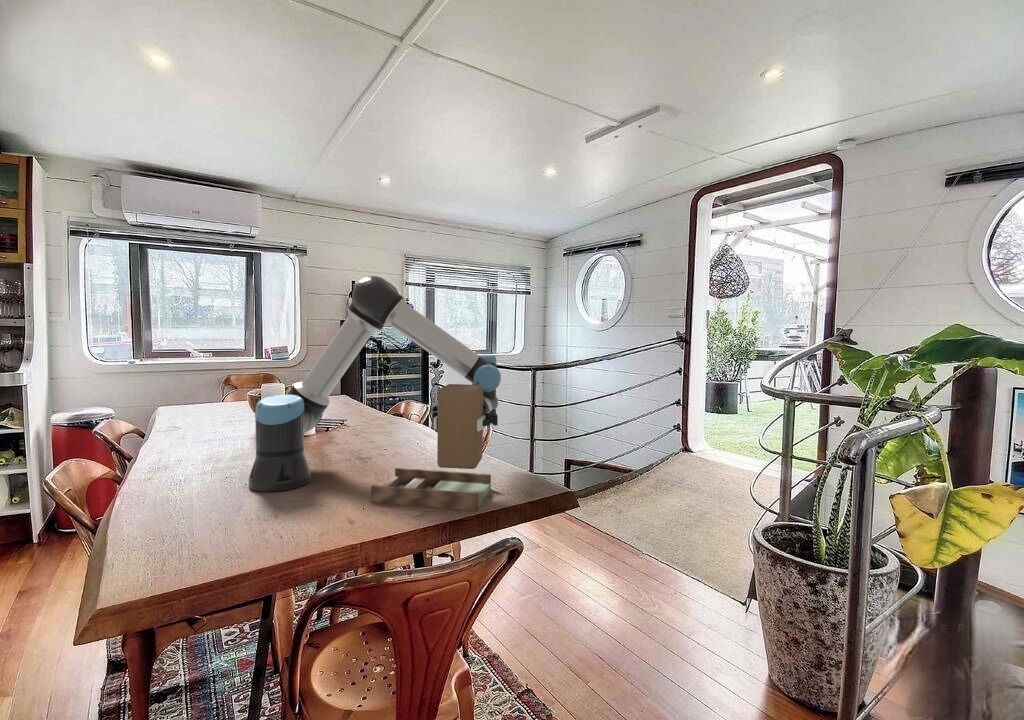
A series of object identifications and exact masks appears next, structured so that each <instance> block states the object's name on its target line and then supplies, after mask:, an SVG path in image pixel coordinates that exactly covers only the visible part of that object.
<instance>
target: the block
mask: <svg viewBox="0 0 1024 720" xmlns="http://www.w3.org/2000/svg"><path fill="white" fill-rule="evenodd" d="M437 411H438V428H437V443H436V444H437V445H436V447H437V451H436V452H437V453H436V454H437V456H436V457H437V459H436V463H437V467H439V468H443V469H444V468H445V469H464V470H474V469H477V467H478V465H479V464H480V462H481V461H482V458H483V444H484V443H483V442H484V441H483V439H484V438H483V435H484V433H483V432H484V428H483V429H482V430H481V431H477V420H478V419H479V418H480V417H481V416H483V387H482V386H481V385H472V384H465V383H464V384H462V383H461V384H458V383H455V384H454V383H449V384H447V385H444V386H442V387H439V388H438V390H437Z"/></svg>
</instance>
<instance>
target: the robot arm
mask: <svg viewBox="0 0 1024 720" xmlns="http://www.w3.org/2000/svg"><path fill="white" fill-rule="evenodd" d="M351 292H352V295H351V299H352V301H351V302H350V304H349V305H348V307H347V308H346V309H347V315H348V316H347V317H346V319H345V320H344V322H343V323H342V324H341V326H340V327H339V329H338V330H337V332H336V333H335V334H334V335H333V337H332V339H331V340H330V342H329V343H328V344H327V346H326V347H325V349H324V350H323V351H322V353H321V354H320V356H319V357H318V359H317V360H316V362H314V364H313V366H312V367H311V368H310V370H309V372H308V373H307V374H306V376H305V377H304V379H303V380H302V381H298V382H294V383H293V385H292V386H291V387H290V389H289V391H288V392H286V394H276V395H272V396H266V397H264V398H261V399H260V400H258V402H257V403H256V406H255V413H254V418H255V421H254V422H255V458H254V462H253V464H252V467H251V471H250V473H249V475H248V476H249V477H248V488H249V489H250V490H253V491H256V492H264V493H268V492H269V493H273V492H281V491H282V492H285V491H290V490H293V489H298V488H302V487H304V486H305V485H307V484H309V483H310V482H311V479H312V477H311V476H312V475H311V469H310V468H309V467H310V466H309V464H308V460H307V458H306V456H305V444H304V443H305V442H304V441H305V440H304V439H305V437H304V436H305V435H304V434H305V433H307V432H309V431H311V430H312V429H314V428H315V427H317V425H318V424H319V423H320V422H321V420H322V417H323V416H324V412H325V411H326V409H327V408H328V406H330V404H331V403H330V398H329V396H330V394H331V393H332V392H333V390H334V389H335V388H336V386H337V385H338V384H339V382H340V380H341V379H342V377H343V376H344V375H345V373H346V372H347V370H349V367H350V366H351V365H352V363H353V361H354V360H355V359H356V357H357V356H358V355H359V354H360V352H361V350H362V349H363V348H364V346H365V345H366V343H367V342H368V340H369V339H370V337H371V336H372V335H373V333H375V332H380V331H382V329H384V327H392V328H393V329H394V330H395V331H397V332H399V333H400V334H402V335H403V336H404V337H406V338H407V339H409V340H410V341H411V342H412V343H414V344H416V345H418V346H419V347H420V348H422V349H423V350H424V351H426V353H427V352H428V353H429V354H430V355H431V356H433V357H435V358H436V359H438V360H439V361H440V362H441V363H443V364H444V365H446V366H447V367H449V368H451V370H452V371H453V370H454V371H455V372H456V373H457V374H459V375H460V376H462V377H464V378H465V379H466V380H467V381H469V382H470V383H472V384H471V385H481V386H482V387H483V416H481V417H480V418H479V419H478V420H477V431H481V430H482V429H483V430H484V429H485V427H489V426H491V424H492V425H493V426H495V427H496V426H498V423H499V422H498V420H499V419H498V418H499V416H498V414H497V408H498V405H499V402H498V401H499V399H498V397H497V388H498V387H499V386H500V384H501V380H502V375H501V372H500V370H499V368H498V367H497V366H498V364H497V357H496V356H495V355H493V354H477V353H476V352H475V351H474V350H473V349H471V348H469V347H468V346H466V345H465V344H464V343H462V342H460V341H459V340H458V339H456V338H455V337H454V336H452V335H451V334H450V333H448V332H447V331H446V330H444V329H442V328H441V327H439V326H438V325H437V324H436V323H434V322H432V321H431V320H430V319H428V318H427V317H425V316H424V315H423V314H422V313H420V312H418V311H417V310H415V309H414V308H413V307H412V306H410V305H408V304H407V301H406V298H405V297H404V296H402V295H401V294H400V293H399V291H398V289H397V287H396V286H394V284H392V283H391V282H390V281H388V280H387V279H385V278H384V277H380V276H378V275H369V276H365V277H362V278H361V279H359V280H358V281H357V282H356V283H355V284H354V286H353V289H352V291H351ZM431 413H432V415H431V419H432V420H431V422H432V423H433V430H438V410H437V411H433V412H431Z"/></svg>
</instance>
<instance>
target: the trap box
mask: <svg viewBox="0 0 1024 720" xmlns="http://www.w3.org/2000/svg"><path fill="white" fill-rule="evenodd" d="M394 469H395V470H394V476H393V477H391V478H390V479H389V480H387V481H386V482H385V483H384V484H382V485H379V484H378V485H377V484H372V485H370V503H373V502H377V503H376V504H385V503H390V504H389V505H397V504H400V505H399V506H409V505H410V507H420V506H424V507H425V508H432V507H438V508H437V509H444V508H448V510H455V511H456V510H457V511H468V512H469V511H470V512H478V511H479V510H480V508H481V507H482V504H483V503H484V502H485V499H486V498H487V496H488V495H489V493H490V491H491V489H492V488H491V487H492V486H491V485H492V483H491V482H492V474H490V473H489V474H488V473H475V472H460V471H449V470H448V471H447V470H435V469H434V470H433V469H419V468H407V467H406V468H405V467H395V468H394ZM488 492H489V493H488ZM424 507H423V508H424ZM439 507H440V508H439Z"/></svg>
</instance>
